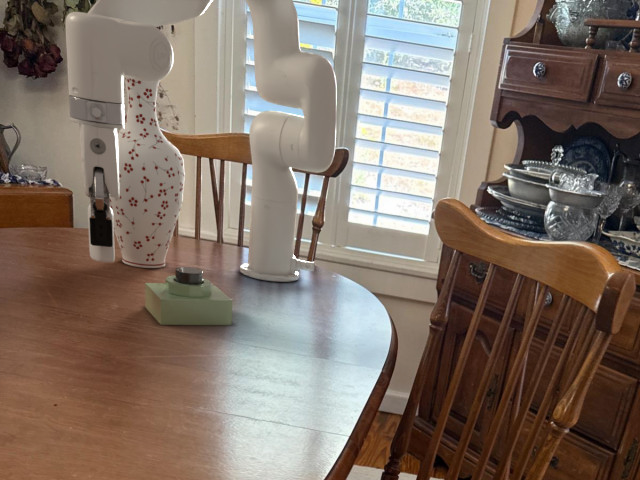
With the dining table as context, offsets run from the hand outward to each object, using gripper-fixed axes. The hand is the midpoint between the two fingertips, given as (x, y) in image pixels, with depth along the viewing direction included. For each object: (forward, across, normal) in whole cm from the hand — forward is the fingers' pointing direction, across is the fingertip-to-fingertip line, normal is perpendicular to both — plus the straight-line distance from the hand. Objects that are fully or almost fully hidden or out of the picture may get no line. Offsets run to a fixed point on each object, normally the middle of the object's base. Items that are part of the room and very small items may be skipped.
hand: (101, 240), depth 122 cm
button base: (+11, 0, -14) cm, 18 cm away
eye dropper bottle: (+3, 0, 0) cm, 3 cm away
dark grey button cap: (+6, 0, -13) cm, 15 cm away
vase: (+11, +37, -8) cm, 39 cm away
